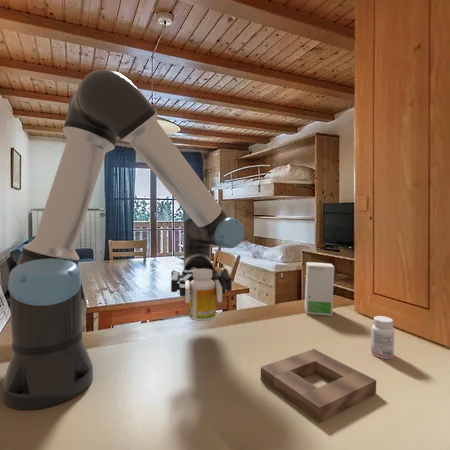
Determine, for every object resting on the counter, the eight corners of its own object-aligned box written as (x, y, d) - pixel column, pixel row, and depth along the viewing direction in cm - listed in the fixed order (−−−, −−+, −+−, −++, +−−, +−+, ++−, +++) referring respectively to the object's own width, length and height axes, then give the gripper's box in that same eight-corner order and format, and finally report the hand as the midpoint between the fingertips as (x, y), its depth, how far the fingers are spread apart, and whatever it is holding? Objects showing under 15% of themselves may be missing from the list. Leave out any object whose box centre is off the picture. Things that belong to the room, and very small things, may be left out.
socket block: (319, 422, 52) (319, 407, 51) (260, 379, 64) (260, 366, 64) (375, 393, 60) (376, 380, 59) (313, 359, 72) (313, 348, 72)
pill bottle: (374, 347, 78) (375, 313, 78) (395, 353, 75) (397, 318, 75) (368, 355, 75) (369, 319, 74) (390, 361, 72) (392, 324, 71)
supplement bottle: (220, 316, 67) (221, 269, 66) (205, 324, 62) (205, 274, 62) (199, 311, 70) (199, 266, 69) (183, 318, 65) (183, 270, 65)
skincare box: (305, 314, 101) (306, 265, 100) (304, 307, 108) (305, 261, 107) (333, 316, 100) (335, 266, 99) (330, 309, 106) (331, 262, 105)
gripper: (233, 283, 85) (252, 313, 62) (162, 285, 83) (153, 316, 60) (234, 255, 84) (252, 274, 61) (162, 256, 82) (153, 276, 59)
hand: (203, 295), depth 61 cm, fingers closed on supplement bottle, 5 cm apart
